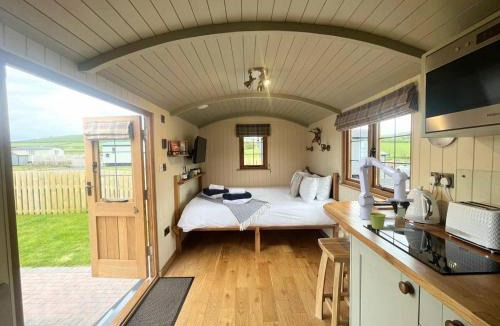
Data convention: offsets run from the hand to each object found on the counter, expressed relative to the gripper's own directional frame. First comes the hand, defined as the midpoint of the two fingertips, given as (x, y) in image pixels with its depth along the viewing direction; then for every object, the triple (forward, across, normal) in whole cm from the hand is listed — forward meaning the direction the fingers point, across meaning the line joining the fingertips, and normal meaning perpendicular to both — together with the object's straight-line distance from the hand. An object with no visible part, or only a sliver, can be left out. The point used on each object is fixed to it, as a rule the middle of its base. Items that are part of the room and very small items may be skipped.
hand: (400, 213), depth 136 cm
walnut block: (+8, 0, 0) cm, 8 cm away
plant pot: (+9, -13, -1) cm, 16 cm away
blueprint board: (+9, 0, 0) cm, 9 cm away
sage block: (+1, 0, 0) cm, 1 cm away
